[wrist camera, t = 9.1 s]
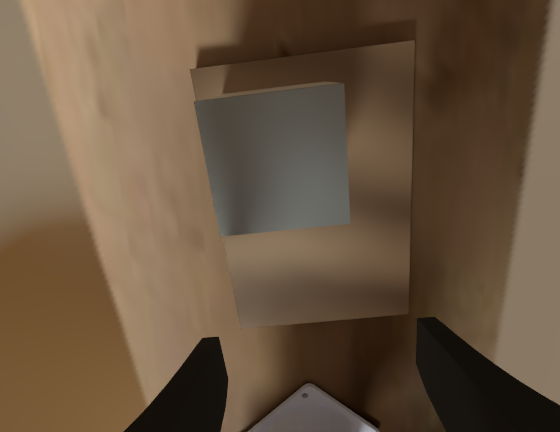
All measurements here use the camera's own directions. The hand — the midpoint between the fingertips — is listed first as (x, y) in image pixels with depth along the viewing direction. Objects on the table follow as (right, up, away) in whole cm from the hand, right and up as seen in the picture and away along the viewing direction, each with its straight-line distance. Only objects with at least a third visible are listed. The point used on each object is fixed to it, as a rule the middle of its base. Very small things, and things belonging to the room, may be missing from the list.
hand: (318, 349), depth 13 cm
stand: (+1, +6, +8) cm, 10 cm away
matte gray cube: (-1, +9, +6) cm, 11 cm away
